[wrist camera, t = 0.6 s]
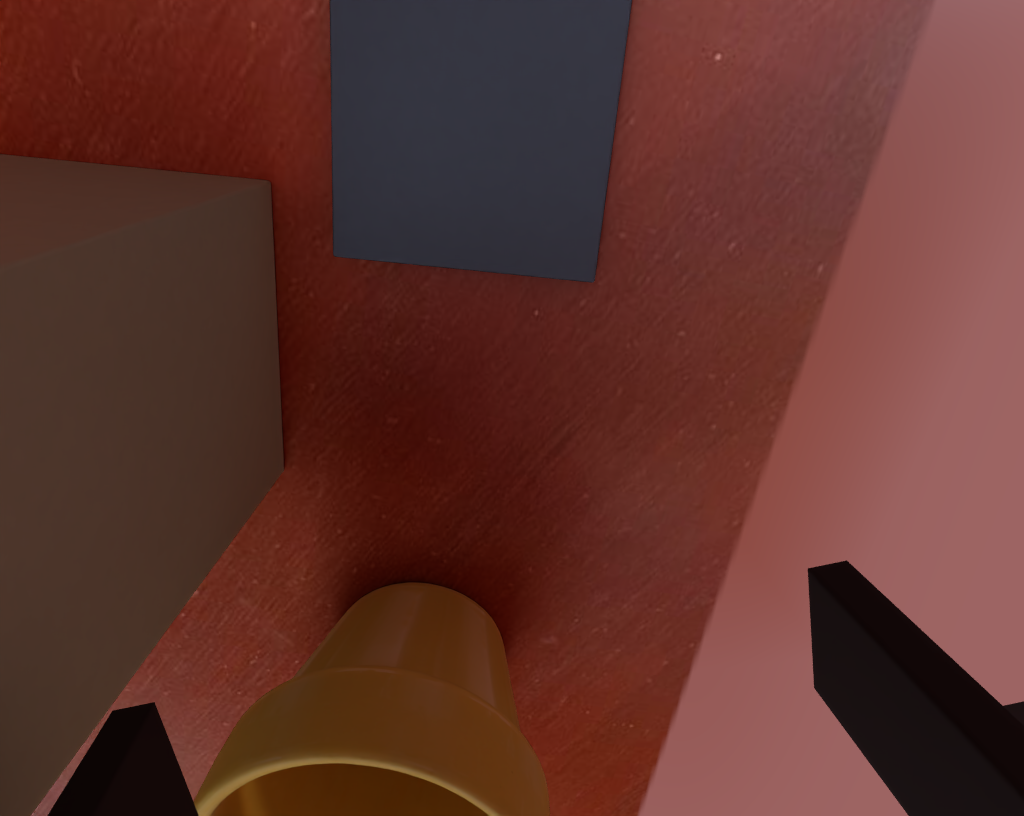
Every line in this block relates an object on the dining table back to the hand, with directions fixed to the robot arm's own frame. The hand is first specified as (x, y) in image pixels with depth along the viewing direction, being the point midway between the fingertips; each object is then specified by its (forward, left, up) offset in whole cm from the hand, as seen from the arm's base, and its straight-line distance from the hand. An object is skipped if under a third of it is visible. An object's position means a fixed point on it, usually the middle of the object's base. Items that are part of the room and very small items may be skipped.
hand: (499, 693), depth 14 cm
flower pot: (-10, +3, -12) cm, 16 cm away
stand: (+2, +13, -12) cm, 18 cm away
